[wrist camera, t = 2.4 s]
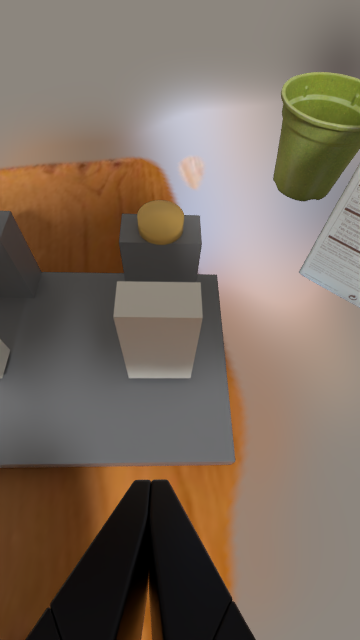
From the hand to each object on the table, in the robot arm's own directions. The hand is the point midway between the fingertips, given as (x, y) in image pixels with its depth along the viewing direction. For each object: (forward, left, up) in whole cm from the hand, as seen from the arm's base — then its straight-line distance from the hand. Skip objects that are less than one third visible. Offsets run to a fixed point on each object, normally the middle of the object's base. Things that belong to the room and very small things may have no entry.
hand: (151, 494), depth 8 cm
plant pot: (+30, -15, -13) cm, 36 cm away
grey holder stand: (+9, +5, -13) cm, 16 cm away
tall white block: (+8, 0, -11) cm, 13 cm away
